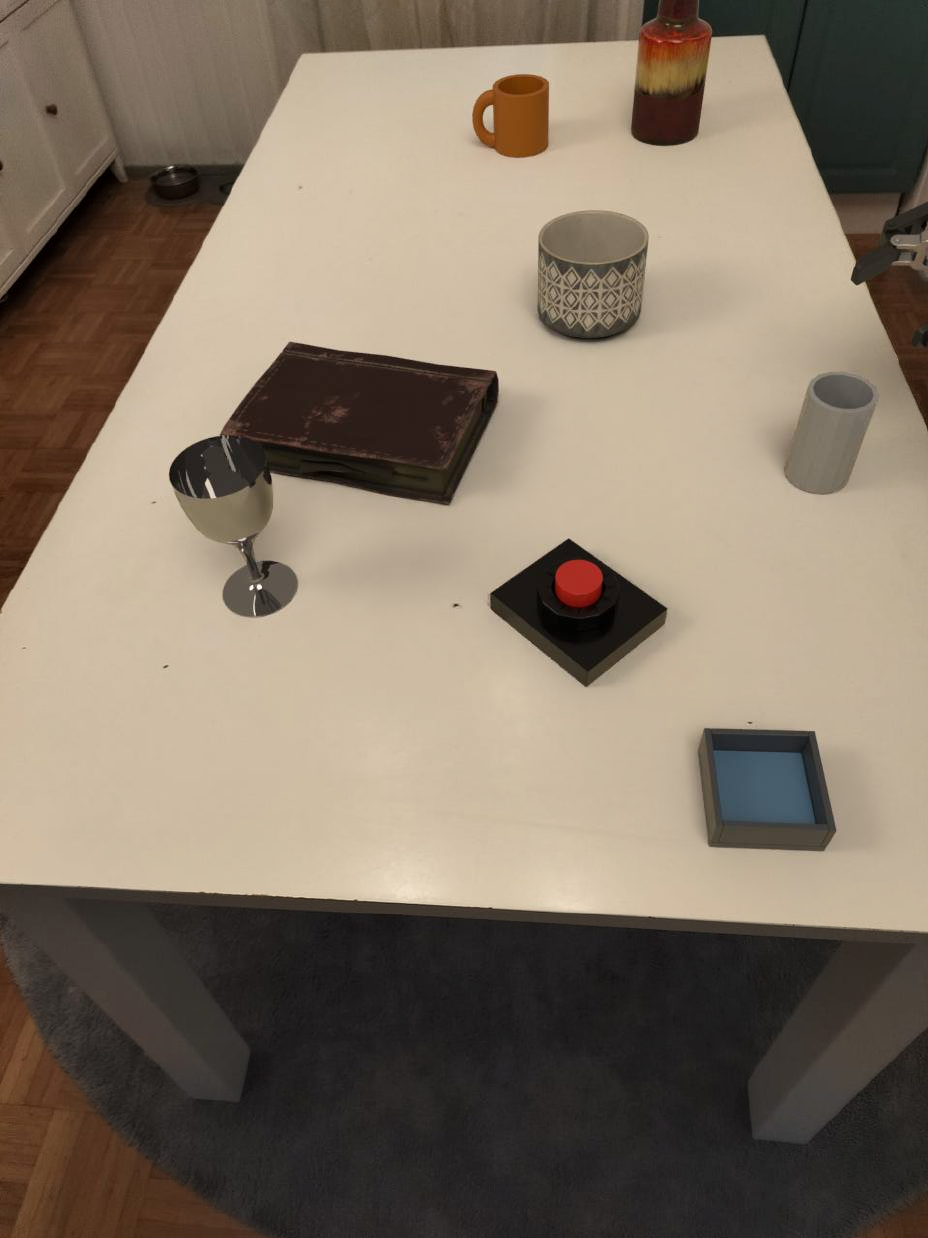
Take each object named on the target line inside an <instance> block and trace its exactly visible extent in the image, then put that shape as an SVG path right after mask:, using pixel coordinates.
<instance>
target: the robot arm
mask: <svg viewBox="0 0 928 1238" xmlns="http://www.w3.org/2000/svg"><path fill="white" fill-rule="evenodd" d="M903 250H911V251H903ZM927 252H928V201H926V202H924V203H922V204H919V205H917V206H915V207H913V208H910V209H909V210H906V211H904V212H902V213H900V214H897V215H895V216H893V217H891V218H889V219H887V220H885V222H884V224H883V227H882V230H881V233H880V236H879V240H878V243H877V247H876V248H874V249H872V250H871V251H869V252H867V253H865V254H863V255H861V256H859V257H858V259H857V260H856V261H855V264H854V266H853V269H852V273H851V276H850V281H851V282H852V283H853V284H854V285H855V286H859V285H862V284H864V283H865V282H867V281H869V280H871V279H873V278H874V277H876V276H877V277H878V275H880V274H882V273H884V272H886V271H888V270H889V269H891V267H892V266H895V267H896V266H901V267H903V266H904V267H905V266H906V267H907V266H909V267H910V268H911V269H912V270H914V271H928V255H926V254H927ZM910 344H911V345H912V346H913V347H914V348H915V349H916V350H919V349H921V348H923V347H924V348H925V349H928V322H926V323H924V324H922V325H920V326H919V327H918V328H917V329H916V330H915V331H914V334H913V336H912V339H911V341H910Z"/></svg>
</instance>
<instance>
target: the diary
mask: <svg viewBox="0 0 928 1238" xmlns="http://www.w3.org/2000/svg"><path fill="white" fill-rule="evenodd" d="M499 380H500V379H499V376H498V373H497V370H491V369H483V368H474V367H465V366H456V365H448V364H447V365H446V364H438V363H433V362H427V361H421V360H415V359H409V358H405V357H399V356H392V355H387V354H377V353H368V352H360V351H351V350H350V351H349V350H340V349H334V348H330V347H324V346H318V345H313V344H306V343H302V342H295V341H288V343H286V345H285V346H284V348H283V349H282V351H281V352H280V353H279V354H278V355H277V357H276V358H275V359H274V360H273V362H272V363H271V364H270V366H268V368H267V369H266V370H265V371H264V373H263V374H262V375H260V377H259V378H258V379H257V380H256V382H255V383H254V384H253V385H252V387H251V389H249V391H248V392H247V393H246V395H245V396H244V397H243V399H242V400H241V401H240V402H239V404H238V405H237V406H236V408H235V409H234V411H233V413H232V414H231V416H230V417H229V419H227V421H226V422H225V424H224V425H223V427H222V429H221V431H220V433H219V436H223V435H235V436H242V437H246V438H249V439H251V440H253V441H255V442H256V443H258V444H259V445H260V446H261V447H262V449H263V451H264V452H265V455H266V458H267V461H268V465H269V469H270V473H271V472H272V473H275V474H280V475H286V476H287V475H288V476H293V477H300V478H305V479H307V478H308V479H314V480H319V481H321V480H322V481H328V482H333V483H338V484H341V485H345V486H349V487H353V488H356V489H361V490H365V491H369V492H373V493H377V494H380V495H385V496H390V497H396V498H404V499H411V500H419V501H425V502H432V503H438V504H444V505H450V503H451V501H452V499H453V496H454V495H455V493H456V491H457V489H458V486H459V483H460V482H461V480H462V479H463V476H464V474H465V472H466V470H467V467H468V465H469V463H470V461H471V459H472V457H473V455H474V453H475V451H476V449H477V446H478V445H479V443H480V441H481V438H482V436H483V434H484V432H485V430H486V428H487V426H488V424H489V422H490V420H491V417H492V416H493V413H494V412H495V409H496V407H497V405H498V403H499V390H500V383H499Z"/></svg>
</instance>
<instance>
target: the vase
mask: <svg viewBox="0 0 928 1238" xmlns="http://www.w3.org/2000/svg"><path fill="white" fill-rule="evenodd" d="M699 7H700V0H659V2H658V7H657V14H656V17H655V18H653V19H650V20H649V21H647V22H645V23H644V24H643V25H642V26H641V28H640V29H639V33H638V45H637V55H636V65H635V66H636V68H635V78H634V79H635V80H634V90H633V100H632V101H633V103H632V114H631V124H630V125H631V126H630V133H631V135H632V137H633V138H634V139H635V140H637V141H639V142H641V143H643V144H647V145H652V146H662V147H663V146H677V145H682V144H686V143H688V142H690V141H692V140H694V139H695V138H696V137H697V135H698V134H699V130H700V124H701V118H702V117H701V116H702V110H703V101H704V95H705V89H706V81H707V74H708V65H709V60H710V52H711V45H712V36H713V29H712V26H711V24H709V23H708V21H705V20H704V19H701V18H700V17H699V10H700V9H699Z"/></svg>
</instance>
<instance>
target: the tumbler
mask: <svg viewBox="0 0 928 1238" xmlns="http://www.w3.org/2000/svg"><path fill="white" fill-rule="evenodd" d="M879 398H880V394H879V391H878V388H877V386H876V385H874V384H873V383H872V382H871V380H869V379H867V378H865V377H863V376H861V375H858V374H857V373H851V372H847V371H827V372H824V373H820V374H818V375H816V376H815V377H813V378H811V380H810V381H809V383H808V385H807V389H806V392H805V396H804V398H803V402H802V406H801V409H800V413H799V416H798V419H797V423H796V426H795V430H794V433H793V437H792V439H791V442H790V446H789V449H788V454H787V456H786V460H785V464H784V475H785V477H786V479H787V480H788V481H789V483H790V484H791V485H793V486H794V487H796V488H797V489H799V490H800V491H804V492H806V493H809V494H816V495H830V494H834V493H838V492H839V491H841V490H842V489H844V488H845V487H846V486H847V484H848V482H849V480H850V477H851V475H852V472H853V469H854V466H855V464H856V461H857V458H858V456H859V453H860V450H861V449H862V444H863V442H864V440H865V436H866V435H867V434H866V433H867V431H868V428H869V425H870V422H871V420H872V417H873V415H874V412H875V409H876V407H877V403H878V401H879Z"/></svg>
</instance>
